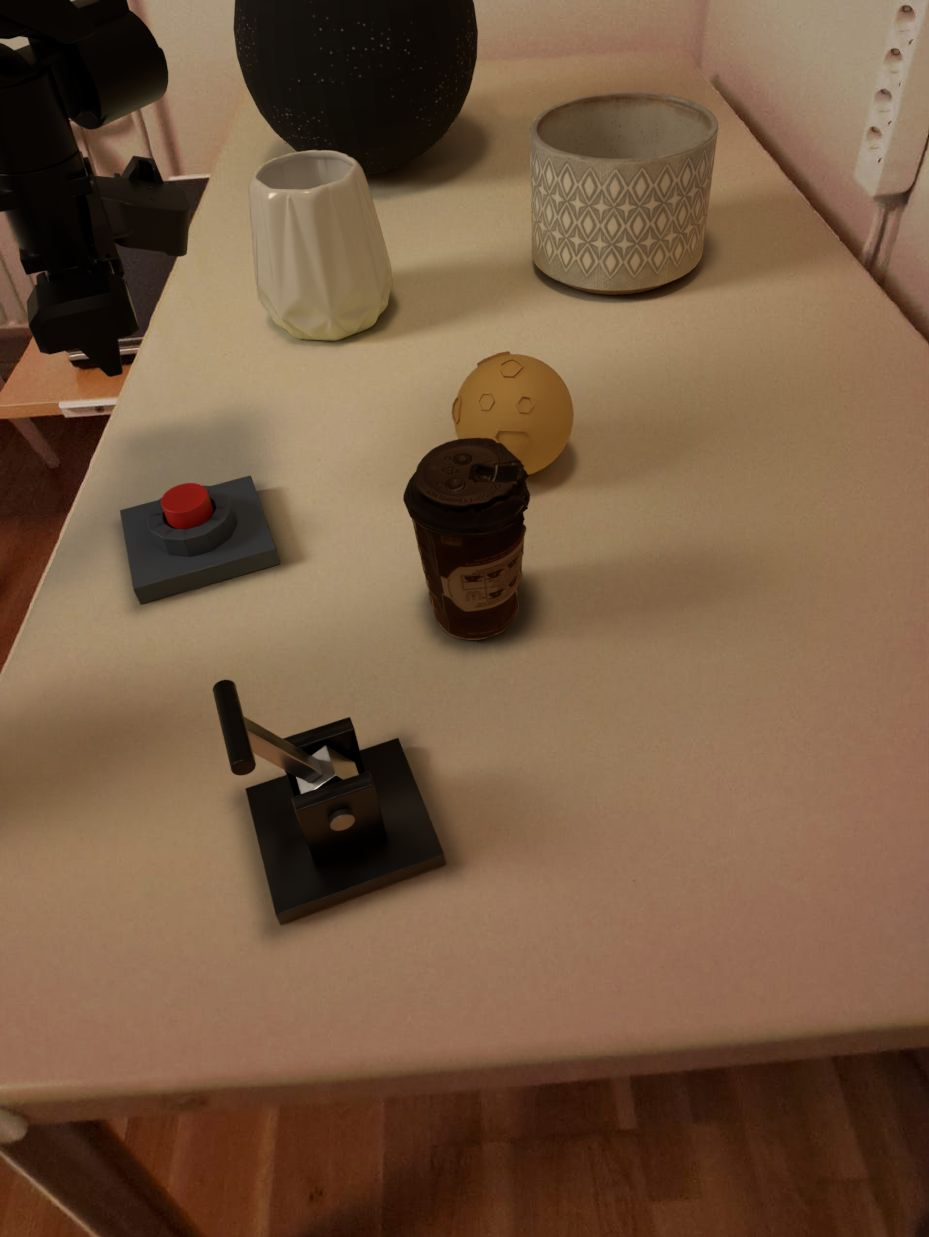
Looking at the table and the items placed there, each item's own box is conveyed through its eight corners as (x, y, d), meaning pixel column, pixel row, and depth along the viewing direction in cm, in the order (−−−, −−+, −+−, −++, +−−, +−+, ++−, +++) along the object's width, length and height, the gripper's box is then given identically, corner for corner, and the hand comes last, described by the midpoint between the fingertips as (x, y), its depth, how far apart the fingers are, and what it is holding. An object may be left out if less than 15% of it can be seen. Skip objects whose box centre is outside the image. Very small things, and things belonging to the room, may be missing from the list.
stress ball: (515, 416, 85) (512, 316, 78) (596, 462, 80) (601, 359, 73) (433, 466, 81) (422, 365, 74) (512, 518, 76) (509, 414, 68)
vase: (377, 354, 94) (355, 202, 83) (246, 347, 97) (207, 199, 86) (410, 286, 103) (394, 141, 92) (290, 281, 106) (260, 139, 95)
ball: (485, 205, 116) (471, -93, 95) (247, 220, 118) (179, -70, 96) (482, 117, 137) (470, -145, 115) (279, 131, 138) (229, -125, 117)
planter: (728, 244, 105) (748, 105, 95) (655, 319, 95) (668, 174, 85) (581, 213, 113) (585, 82, 103) (500, 280, 103) (494, 142, 93)
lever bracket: (280, 925, 53) (250, 861, 48) (249, 798, 59) (220, 729, 54) (446, 864, 55) (435, 797, 50) (400, 748, 61) (386, 676, 56)
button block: (140, 604, 72) (125, 571, 69) (126, 525, 78) (112, 492, 76) (280, 564, 74) (270, 530, 71) (255, 490, 80) (245, 457, 78)
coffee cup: (560, 612, 68) (562, 470, 59) (475, 674, 65) (463, 533, 55) (480, 554, 73) (471, 414, 64) (397, 609, 70) (374, 469, 60)
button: (170, 534, 72) (163, 517, 71) (164, 507, 74) (157, 489, 73) (216, 522, 73) (210, 504, 72) (209, 495, 75) (203, 477, 74)
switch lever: (216, 777, 45) (254, 750, 45) (198, 695, 49) (233, 668, 48) (339, 838, 52) (373, 815, 52) (316, 763, 56) (347, 740, 56)
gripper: (181, 184, 54) (245, 411, 65) (143, 88, 66) (202, 294, 78) (-18, 224, 52) (83, 453, 63) (-20, 118, 64) (65, 325, 76)
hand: (115, 373), depth 70 cm, fingers closed
